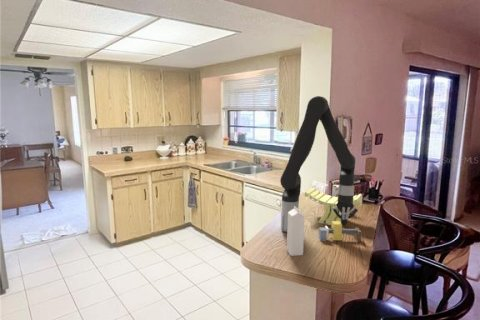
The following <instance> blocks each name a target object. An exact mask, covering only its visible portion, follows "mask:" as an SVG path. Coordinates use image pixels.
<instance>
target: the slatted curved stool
mask: <svg viewBox="0 0 480 320" xmlns="http://www.w3.org/2000/svg"><path fill="white" fill-rule="evenodd" d="M304 197H307V198H308V197H309V199H310V200H313V202H317V201H318V204H323V205H324V209H325V212H324V214H323V215H322V217H320V219H319V220H318V221H317V223H318V224H323V225H324V224H325V225H329V226H331V225H332V221H340V222H341V218H339V217H338V216H337V215H336V213H335V212H334V211H333V210H332V208H333V207H336V205H337V202H338V197H334V196H333V197H332V195H329V194H326V193H325V192H321V190H318V189H316V188H315V187H311V188H308V189H307V190H305V193H304ZM353 205H354V206H356V207H357V206H358V207H360V208H361V207H362V205H363V194H362V193H359V194H358V195H354V197H353ZM337 209H338V208H337ZM337 212H338V213H339V215H341V213H340V211H339V209H338V211H337Z"/></svg>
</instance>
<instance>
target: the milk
mask: <svg viewBox="0 0 480 320" xmlns="http://www.w3.org/2000/svg"><path fill="white" fill-rule="evenodd" d="M304 236H305V215H304V214H303V213H302V212H301V211H299V209H298V208H296V207H295V206H294V209H292V210H291V211H289V212H288V225H287V232H286V238H287V239H286V251H287V253H288V254H289V255H290V256H291V257H292V256H293V257H294V256H304V238H305V237H304Z"/></svg>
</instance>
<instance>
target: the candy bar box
mask: <svg viewBox="0 0 480 320" xmlns="http://www.w3.org/2000/svg"><path fill="white" fill-rule="evenodd" d="M338 187H339V184H332V187H331V188H332V189H331V196H332V197H333V196H334V197H338Z"/></svg>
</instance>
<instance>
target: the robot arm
mask: <svg viewBox="0 0 480 320" xmlns="http://www.w3.org/2000/svg"><path fill="white" fill-rule="evenodd" d="M319 122H320V123H321V124H322V127H323V130H324V131H325V135H326V137H327V140H328V142H329V144H330V146H331V148H332V150H333V152H334V153H335V156H336V158H337V161H338V163H339V164H340V173H339V177H338V178H339V179H338V180H339V181H338V185H339V187H338V202H337V205H336V207H333V208H332V210H333V211H334V212H335V213H336V215H337V216H338V217H339V218H341V224H342V227H347V226H348V219H352V218H353V217H354V216H355V215H356V213H357V212H358V211H359V210H358V208H357V207H355V205H353V197H354V196H355V195H354V194H355V193H354V192H355V187H354V185H355V168H356V157H355V156H354V155H353V154H352V153H351V151H350V149H349V148H348V143H347V141H346V139H345V138H344V136H343V134H342V132H341V130H340V128H339V127H338V125H337V123H336V121H335V119H334V117H333V115H332V111H331V108H330V104H329V101H328V100H327V99H326V97H324V96H319V95H317V96H315V95H314V96H312V97H311V98H310V100H308V102H307V106H306V110H305V114H304V118H303V121H302V124H301V125H300V128H299V130H298V132H297V136H296V138H295V140H294V142H293V147H292V149H291V152H290V155H289V159H288V162H287V164H286V167H285V168H284V170H283V172H282V174H281V176H280V186H281V187H282V188H283V189H284V190H283V192H282V195H281V212H280V229H281V230H280V231H281V232H283V233H287V225H288V212H289V211H291V210H292V209H294V206H295V207H296V208H298V210H299V207H300V206H299V203H300V202H299V201H300V196H301V187H302V185H301V184H302V178H301V175H300V170H301V168H302V166H303V164H304V163H305V162H306V160H307V158H308V157H309V155H310V153H311V151H312V148H313V145H314V142H315V139H316V133H317V127H318V124H319ZM337 208H338V209H339V211H340V213H341V215H339V213H338V212H337V211H338V209H337Z"/></svg>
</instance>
